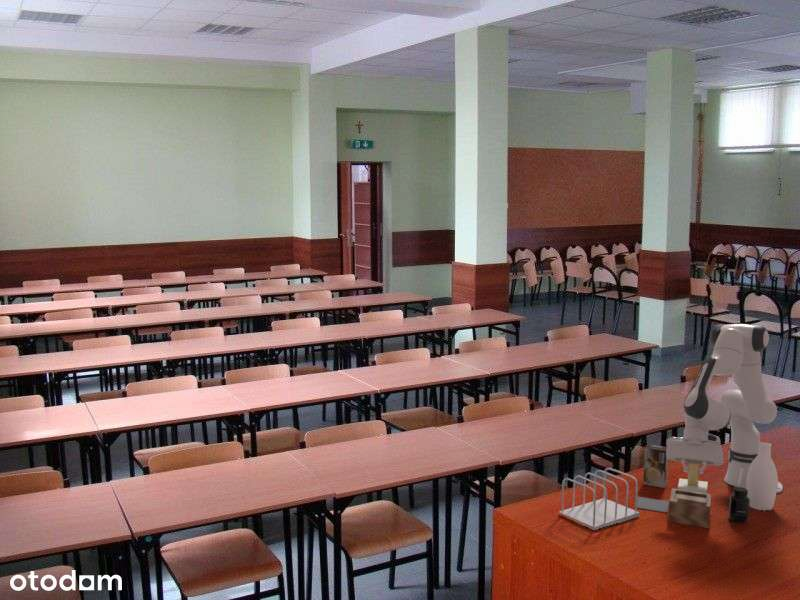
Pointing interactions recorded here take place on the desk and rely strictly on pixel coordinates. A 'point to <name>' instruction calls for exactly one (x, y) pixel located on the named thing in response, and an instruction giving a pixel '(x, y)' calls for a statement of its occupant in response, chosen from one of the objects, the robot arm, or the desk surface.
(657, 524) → the desk surface
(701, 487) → the lid
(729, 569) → the desk surface
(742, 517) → the supplement bottle
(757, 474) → the bottle
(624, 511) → the file sorter
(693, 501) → the box
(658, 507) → the mat
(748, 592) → the desk surface
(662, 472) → the coffee box
